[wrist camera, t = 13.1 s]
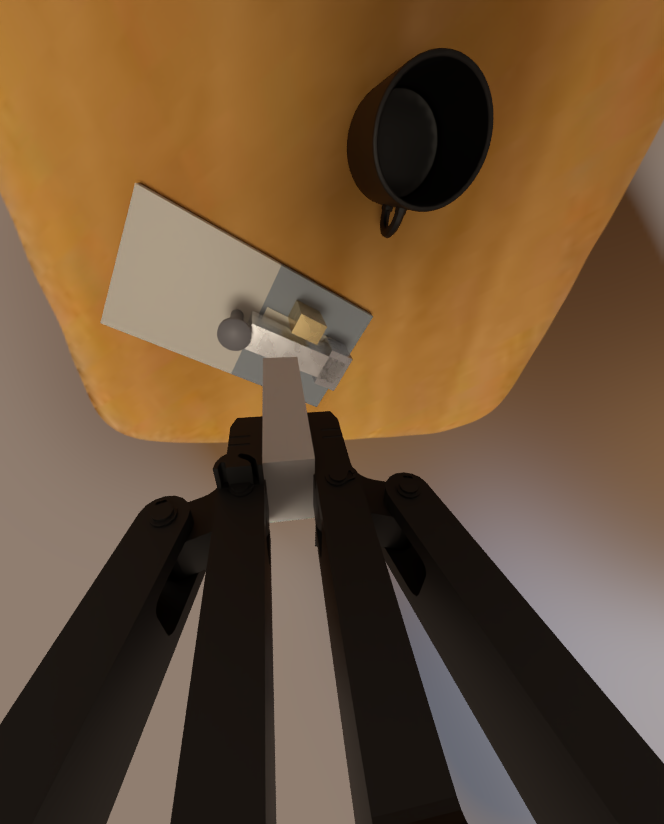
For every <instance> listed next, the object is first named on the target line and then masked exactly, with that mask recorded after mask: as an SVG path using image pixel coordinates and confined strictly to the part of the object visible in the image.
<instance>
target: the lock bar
mask: <svg viewBox="0 0 664 824" xmlns="http://www.w3.org/2000/svg"><path fill="white" fill-rule="evenodd" d="M247 324H248V325H249V327H250V329H251V333H252V337H251V342H250V344H249V345H248V346H247V347H246V348H245V349H246V350H249V351H251V352H254V353H256V354H259V355H261V356H264V357H267V358H276V357H297V359H298V364H299V370H300V371H302V372H305V373H307V374H310V375H312V377H313V381H314V383H315V384H317V385H320V386H323V387H325V388H328V389H330V390H333V391H334V390H335V388H336V386H337V385H338V383H339V381H340V380H341V378H342V376H343V375H344V373H345V371H346V370H347V368H348V366H349V364H350V363H351V361H352V357H351V355H350V354H349V352H348V350H347V348H346V346H345V345H344V344H341V343H339V342H337V341H335V340H333V339H330V338H328V337H326V338H325V340H324V342H321V341H319V342H318V344H317V345H316V344H314V343H312V342H309V341H307V340H305V339H303V338H301V337H299V336H297V335H295V334H293V333H291V329H290V327H287V326H285V325H283V324H281V323H278V322H276V321H274V320H272V319H269V318H267V317H265V316H263V315H260V314H258V313H256V312H254V311H252V313H251V315H250V318H249V320H248V323H247Z"/></svg>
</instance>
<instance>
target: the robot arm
mask: <svg viewBox="0 0 664 824" xmlns="http://www.w3.org/2000/svg"><path fill="white" fill-rule="evenodd" d="M213 472H214V476H215V481H216V485H217V489H216V490H214V491H213V492H211V493H210V494H209V495H206V496H204V497H202V498H199V499H196V500H193V501H190V502H187V501H186V500H185V499H183V498H181V497H178V496H165V497H162V498H159V499H156V500H154V501H152V502H151V503H149V504H148V505H146V506H145V508H143V510H142V511H141V512H140V513H139V514H138V516H137V517H136V519H135V520H134V522H133V523H132V525H131V526H130V528H129V529H128V531H127V532H126V534H125V535H124V537H123V538H122V540H121V541H120V543H119V545H118V546H117V548H116V549H115V551H114V552H113V554H112V555H111V557H110V558H109V560H108V561H107V563H106V564H105V566H104V567H103V569H102V570H101V572H100V573H99V575H98V577H97V578H96V579H95V581H94V583H93V584H92V586H91V587H90V589H89V590H88V592H87V593H86V595H85V596H84V598H83V599H82V601H81V602H80V604H79V605H78V607H77V608H76V610H75V611H74V613H73V615H72V616H71V618H70V619H69V621H68V622H67V624H66V625H65V627H64V628H63V630H62V631H61V633H60V634H59V636H58V637H57V639H56V640H55V642H54V643H53V645H52V646H51V648H50V650H49V651H48V652H47V654H46V656H45V657H44V659H43V660H42V662H41V663H40V665H39V666H38V668H37V669H36V671H35V672H34V674H33V675H32V677H31V678H30V680H29V682H28V683H27V684H26V686H25V688H24V689H23V691H22V692H21V694H20V695H19V697H18V698H17V700H16V701H15V703H14V704H13V706H12V707H11V709H10V710H9V712H8V713H7V715H6V717H5V718H4V719H3V721H2V723H1V724H0V824H106V823H107V821H108V818H109V815H110V812H111V810H112V808H113V805H114V803H115V800H116V798H117V795H118V793H119V790H120V788H121V785H122V782H123V780H124V777H125V775H126V772H127V770H128V767H129V764H130V762H131V760H132V757H133V755H134V752H135V749H136V747H137V744H138V742H139V739H140V737H141V734H142V732H143V729H144V727H145V724H146V722H147V719H148V716H149V714H150V711H151V709H152V706H153V704H154V701H155V699H156V696H157V694H158V691H159V689H160V686H161V683H162V681H163V678H164V676H165V673H166V671H167V668H168V666H169V663H170V661H171V658H172V656H173V653H174V651H175V648H176V646H177V643H178V640H179V638H180V635H181V633H182V630H183V628H184V625H185V623H186V620H187V618H188V615H189V613H190V610H191V607H192V605H193V602H194V600H195V597H196V595H197V592H198V590H199V587H200V585H201V582H202V580H203V577H204V574H205V572H206V575H205V582H204V589H203V597H202V604H201V610H200V617H199V618H200V619H199V625H198V632H197V640H196V647H195V653H194V660H193V667H192V675H191V681H190V688H189V696H188V703H187V710H186V717H185V724H184V731H183V738H182V745H181V753H180V759H179V766H178V774H177V781H176V788H175V795H174V802H173V809H172V816H171V823H170V824H276V790H275V789H276V786H275V738H274V737H275V736H274V692H273V691H274V689H273V638H272V593H271V591H272V590H271V589H272V588H271V539H270V530H269V523H272V522H281V521H290V520H299V519H308V518H314V515H315V521H316V532H315V533H316V534H315V536H316V537H315V546H317V547H318V554H319V562H320V569H321V576H322V584H323V591H324V598H325V606H326V612H327V620H328V627H329V635H330V642H331V649H332V656H333V664H334V671H335V678H336V686H337V693H338V700H339V708H340V714H341V722H342V729H343V736H344V744H345V751H346V759H347V766H348V773H349V780H350V788H351V795H352V802H353V810H354V817H355V824H468V823H467V821H466V819H465V817H464V815H463V812H462V810H461V807H460V805H459V802H458V799H457V796H456V792H455V789H454V786H453V783H452V780H451V776H450V773H449V770H448V766H447V763H446V760H445V756H444V753H443V750H442V747H441V743H440V740H439V737H438V733H437V730H436V727H435V723H434V720H433V717H432V714H431V710H430V707H429V704H428V701H427V697H426V694H425V691H424V687H423V684H422V681H421V678H420V674H419V671H418V668H417V664H416V661H415V658H414V654H413V651H412V648H411V645H410V641H409V638H408V635H407V632H406V628H405V625H404V622H403V618H402V615H401V612H400V608H399V605H398V602H397V598H396V595H395V592H394V589H393V585H392V582H391V579H390V575H389V572H388V569H387V566H386V563H387V565H388V566H389V568H390V570H391V572H392V573H393V575H394V577H395V579H396V580H397V582H398V584H399V586H400V587H401V589H402V591H403V592H404V594H405V596H406V598H407V599H408V601H409V603H410V604H411V606H412V608H413V610H414V612H415V613H416V615H417V617H418V618H419V620H420V622H421V624H422V625H423V627H424V629H425V631H426V632H427V634H428V636H429V638H430V639H431V641H432V643H433V644H434V646H435V648H436V649H437V651H438V653H439V655H440V656H441V658H442V660H443V662H444V663H445V665H446V667H447V669H448V670H449V672H450V674H451V676H452V677H453V679H454V681H455V683H456V684H457V686H458V688H459V689H460V691H461V693H462V695H463V697H464V698H465V700H466V702H467V703H468V705H469V707H470V709H471V710H472V712H473V714H474V716H475V717H476V719H477V721H478V722H479V724H480V726H481V728H482V729H483V731H484V733H485V735H486V736H487V738H488V740H489V742H490V743H491V745H492V747H493V748H494V750H495V752H496V754H497V755H498V757H499V759H500V761H501V762H502V764H503V766H504V768H505V769H506V771H507V773H508V775H509V776H510V778H511V780H512V781H513V783H514V785H515V787H516V788H517V790H518V792H519V794H520V795H521V797H522V799H523V801H524V802H525V804H526V806H527V808H528V809H529V811H530V813H531V814H532V816H533V818H534V820H535V821H536V823H537V824H664V763H663V762H662V761H661V760H660V759H659V757H658V756H657V755H656V754H655V753H654V751H653V750H652V749H651V748H650V747H649V746H648V744H647V743H646V742H645V741H644V740H643V739H642V737H641V736H640V735H639V734H638V733H637V731H636V730H635V729H634V728H633V727H632V725H631V724H630V723H629V722H628V721H627V720H626V718H625V717H624V716H623V715H622V714H621V713H620V711H619V710H618V709H617V708H616V707H615V705H614V704H613V703H612V702H611V701H610V699H609V698H608V697H607V696H606V695H605V694H604V693H603V691H602V690H601V689H600V688H599V686H598V685H597V684H596V683H595V682H594V681H593V679H592V678H591V677H590V676H589V675H588V673H587V672H586V671H585V670H584V669H583V667H582V666H581V665H580V664H579V663H578V662H577V661H576V659H575V658H574V657H573V656H572V654H571V653H570V652H569V651H568V650H567V649H566V647H565V646H564V645H563V644H562V643H561V642H560V641H559V639H558V638H557V637H556V636H555V634H554V633H553V632H552V631H551V630H550V628H549V627H548V626H547V625H546V624H545V623H544V621H543V620H542V619H541V618H540V617H539V615H538V614H537V613H536V612H535V611H534V610H533V608H532V607H531V606H530V605H529V604H528V602H527V601H526V600H525V599H524V598H523V597H522V595H521V594H520V593H519V592H518V591H517V589H516V588H515V587H514V586H513V585H512V583H510V581H509V580H508V579H507V578H506V576H505V575H504V574H503V573H502V572H501V571H500V569H499V568H498V567H497V566H496V565H495V563H494V562H493V561H492V560H491V559H490V557H489V556H488V555H487V554H486V553H485V552H484V550H483V549H482V548H481V547H480V546H479V544H478V543H477V542H476V541H475V540H474V539H473V537H472V536H471V535H470V534H469V533H468V531H467V530H466V529H465V528H464V527H463V526H462V524H461V523H460V522H459V521H458V520H457V518H456V517H455V516H454V515H453V514H452V513H451V511H450V510H449V509H448V508H447V507H446V505H445V504H444V503H443V502H442V501H441V499H440V498H439V497H438V496H437V495H436V494H435V493H434V491H433V490H432V489H431V488H430V487H429V485H428V484H427V483H426V482H425V481H424V480H423V479H421V478H420V477H418V476H416V475H413V474H410V473H396V474H394V475H392V476H390V477H389V479H388V480H387V481H386V482H384V481H378V480H372V479H368V478H366V477H363V476H361V475H360V474H358V473H357V471H356V470H355V469H354V468H353V467H352V465H351V463H350V459H349V456H348V453H347V449H346V446H345V442H344V439H343V437H342V432H341V430H340V425H339V422H338V419H337V418H336V417H335V416H334V415H333V414H332V413H331V412H330V411H325V412H310V413H307V410H306V404H305V399H304V393H303V387H302V382H301V376H300V370H299V364H298V359H297V357H276V358H263V416H261V417H246V418H237V419H236V420H235V422H234V423H233V424H232V426H231V427H230V434H229V442H228V450H227V454H226V455H224V456H222V457H221V458H220V459H219V460H217V462H216V463H215V465H214V467H213ZM385 561H386V562H385Z"/></svg>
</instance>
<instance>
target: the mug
mask: <svg viewBox="0 0 664 824" xmlns="http://www.w3.org/2000/svg"><path fill="white" fill-rule="evenodd" d="M492 130H493V104H492V97H491V93H490V89H489V86H488V83H487V81H486V79H485V77H484V75H483V73H482V71H481V70H480V68H479V67H478V66H477V64H476V63H475V62H474V61H472V60H471V59H470V58H469V57H468V56H466V55H465V54H463V53H461V52H459V51H456V50H453V49H447V48H437V49H431V50H428V51H425V52H423V53H420V54H418V55H417V56H415V57H414V58H412V59H411V60H409V61H408V62H407V63H405V64H404V65H403V66H402V67H400V68H399V69H398V70H397V71H395V72H394V73H393V74H391V75H390V76H389V77H388V78H386V79H385V80H384V81H383V82H381V83H380V84H379V85H377V86H376V87H375V88H374V89H372V90H371V91H370V92H369V93H368V94H367V95H366V96H365V98H364V99H363V100H362V101H361V103H360V104H359V106H358V108H357V110H356V111H355V114H354V116H353V119H352V121H351V125H350V128H349V133H348V140H347V157H348V164H349V168H350V172H351V174H352V177H353V179H354V181H355V183H356V185H357V187H358V188H359V189H360V191H361V192H362V193H363V194H364V195H365V196H366V197H367V198H369V199H370V200H372V201H374V202H376V203H378V204H381V205H383V206H382V214H381V220H380V230H381V234H382V236H384V237H386V238H389V237H391V236H392V235H393V234H394V233H395V232H396V231H397V230H398V228H399V226H400V224H401V222H402V219H403V217H404V215H405V213H406V210H412V211H418V212H428V211H433V210H437V209H440V208H442V207H445V206H446V205H448V204H450V203H451V202H453V201H454V200H456V199H457V198H458V197H459V196H461V195H462V194H463V192H464V191H465V190H466V189H467V188H468V187H469V186H470V185H471V183H472V182H473V181H474V179H475V178H476V176H477V174H478V173H479V171H480V169H481V167H482V165H483V163H484V160H485V158H486V155H487V152H488V149H489V146H490V141H491V137H492ZM393 207H396V209H395V214H394V217H393V220H392V222H391V224H390V225H389V226H388V222H389V215H390V212H392V209H393Z"/></svg>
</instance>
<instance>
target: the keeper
mask: <svg viewBox="0 0 664 824" xmlns="http://www.w3.org/2000/svg"><path fill="white" fill-rule="evenodd" d="M288 320H289V324H290V329H291V333H293V334H295V335H297V336H299V337H301V338H303V339H305V340H307V341H309V342H312V343H314V344H316V345H317V344H318V342H319V341H320V339H321V337H322V335H323V334H324V332H325V330H326V328H327V325H326V323H325V321H324V319H323V317H322V315H321V313H320V311H318V310H316V309H314V308H312V307H310V306H308V305H306V304H304V303H302V302H301V301H299V300H296V302H295V304H294V306H293V307H292V309H291V311H290V313H289V315H288Z"/></svg>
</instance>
